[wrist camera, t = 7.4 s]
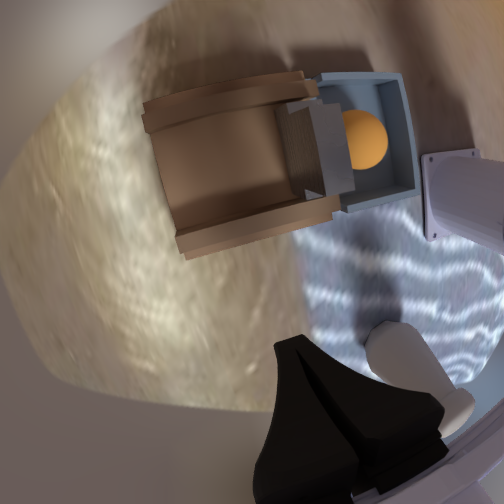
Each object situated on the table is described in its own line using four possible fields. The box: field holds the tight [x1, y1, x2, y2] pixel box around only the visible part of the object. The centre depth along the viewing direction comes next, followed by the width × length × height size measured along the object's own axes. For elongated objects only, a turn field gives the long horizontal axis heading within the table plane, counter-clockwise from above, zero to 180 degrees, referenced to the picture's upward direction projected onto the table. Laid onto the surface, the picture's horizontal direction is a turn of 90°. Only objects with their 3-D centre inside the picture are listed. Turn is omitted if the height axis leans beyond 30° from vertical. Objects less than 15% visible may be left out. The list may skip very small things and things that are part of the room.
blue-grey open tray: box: [305, 72, 420, 213], centre depth 17 cm, size 7×9×3 cm
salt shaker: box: [365, 320, 475, 438], centre depth 20 cm, size 6×6×13 cm
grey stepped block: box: [274, 99, 355, 200], centre depth 14 cm, size 2×5×5 cm, turn 13°
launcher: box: [141, 71, 341, 261], centre depth 16 cm, size 10×10×4 cm
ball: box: [342, 110, 388, 170], centre depth 17 cm, size 4×4×4 cm
